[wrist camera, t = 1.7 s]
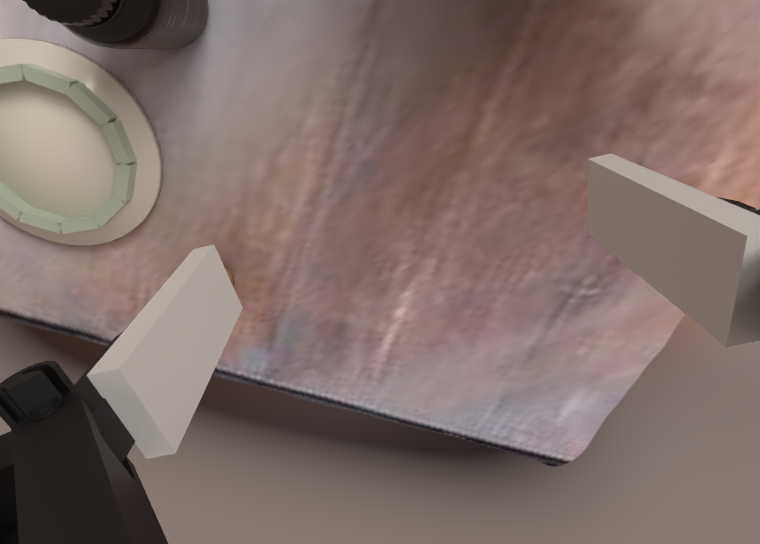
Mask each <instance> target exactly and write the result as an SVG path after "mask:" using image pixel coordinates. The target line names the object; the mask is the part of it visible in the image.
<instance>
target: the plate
mask: <svg viewBox="0 0 760 544" xmlns="http://www.w3.org/2000/svg"><path fill="white" fill-rule="evenodd" d="M162 178H163V163H162V156H161V150H160V146H159V143H158V140H157V137H156V134H155V132H154V129H153V127H152V125H151V123H150V121H149V119H148V117H147V116H146V114H145V112H144V110H143V109H142V107H141V106H140V105H139V103H138V102H137V100H136V99H135V98H134V96H133V95H132V94H131V93H130V92H129V91H128V90H127V89H126V87H125V86H124V85H123V84H122V83H121V82H120V81H119V80H117V79H116V78H115V77H114V76H113V75H112V74H111V73H110V72H108V71H107V70H106V69H104V68H103V67H101V66H100V65H99V64H97V63H96V62H94V61H92V60H91V59H89V58H87V57H86V56H84V55H82V54H80V53H78V52H76V51H73V50H71V49H69V48H67V47H63V46H60V45H57V44H54V43H50V42H45V41H40V40H29V39H3V40H0V216H1V217H2V218H4V219H5V220H6V221H8V222H9V223H11V224H13V225H15V226H16V227H18V228H20V229H22V230H24V231H26V232H28V233H30V234H32V235H35V236H37V237H40V238H43V239H46V240H49V241H53V242H57V243H61V244H69V245H86V246H87V245H97V244H102V243H106V242H110V241H113V240H115V239H118V238H120V237H122V236H124V235H126V234H127V233H129V232H130V231H132V230H133V229H134V228H136V227H137V226H138V225H139V224H141V223H142V222H143V221H144V220H145V219H146V217H147V216H148V215H149V214H150V213H151V211H152V209H153V208H154V206H155V204H156V202H157V200H158V197H159V195H160V190H161V186H162Z"/></svg>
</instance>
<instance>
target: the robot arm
mask: <svg viewBox="0 0 760 544" xmlns="http://www.w3.org/2000/svg"><path fill="white" fill-rule="evenodd" d="M588 234H589V235H590V236H591V237H593V238H594V239H595V240H596V241H597V242H599V243H600V244H601V245H602V246H604V247H605V248H606V249H607V250H608V251H610V252H611V253H612V254H613V255H615V256H616V257H617V258H618V259H619V260H621V261H622V262H623V263H624V264H626V265H627V266H628V267H629V268H630V269H632V270H633V271H634V272H635V273H637V274H638V275H639V276H640V277H641V278H643V279H644V280H645V281H646V282H648V283H649V284H650V285H651V286H652V287H654V288H655V289H656V290H657V291H659V292H660V293H661V294H662V295H663V296H665V297H666V298H667V299H668V300H670V301H671V302H672V303H673V304H674V305H676V306H677V307H678V308H679V309H681V310H682V311H683V312H684V313H685V314H687V315H688V316H689V317H690V318H692V319H693V320H694V321H695V322H696V323H698V324H699V325H700V326H701V327H703V328H704V329H705V330H706V331H707V332H709V333H710V334H711V335H712V336H714V337H715V338H716V339H717V340H718V341H720V342H721V343H722V344H723V345H725V346H726V347H727V346H732V345H737V344H743V343H748V342H753V341H759V340H760V210H756V208H754V207H751V206H749V205H746V204H744V203H741V202H739V201H734V200H729V199H724V198H718V197H714V196H712V195H710V194H707V193H705V192H702V191H700V190H698V189H695V188H693V187H690V186H688V185H686V184H683V183H681V182H678V181H676V180H674V179H671V178H669V177H666V176H664V175H662V174H659V173H657V172H655V171H652V170H650V169H647V168H645V167H643V166H640V165H638V164H635V163H633V162H631V161H628V160H626V159H623V158H621V157H619V156H616V155H614V154H606V155H602V156H598V157H593V158H589V159H588ZM242 309H243V308H242V306H241V303H240V301H239V299H238V297H237V295H236V292H235V290H234V288H233V286H232V283H231V281H230V279H229V277H228V274H227V272H226V270H225V268H224V266H223V263H222V261H221V259H220V257H219V254H218V252H217V250H216V248H215V245H209V246H205V247H200V248H196V249H193V250H192V252H191V253H190V254H189V255H188V256H187V257H186V259H185V260H184V261H183V262H182V263H181V265H180V266H179V267H178V268H177V269H176V270H175V272H174V273H173V274H172V275H171V276H170V278H169V279H168V280H167V281H166V282H165V283H164V285H163V286H162V287H161V288H160V289H159V291H158V292H157V293H156V294H155V295H154V296H153V298H152V299H151V300H150V301H149V302H148V303H147V305H146V306H145V307H144V308H143V309H142V311H141V312H140V313H139V314H138V315H137V316H136V318H135V319H134V320H133V321H132V322H131V324H130V325H129V326H128V327H127V328H126V329H125V330H124V331H123V332H122V333H120V334H119V335H118V336H117V337H115V338H114V340H113V341H112V342H111V343H110V344H109V345H108V347H107V348H106V349H105V351H104V352H102V353H101V355H100V356H99V357H98V358H97V361H96V362H94V363H93V364H92V365H91V366H90V367H89V369H88V370H87V371H86V372H85V373H84V375H83V376H82V377H81V378H80V379H79V380H78V382H77V383H76V384H75V385H73V383H72V382H71V381H70V380H69V378H68V377H67V376H66V374H65V373H64V371H63V370H62V369H61V368H60V366H59V365H58V363H56V362H55V361H44V362H41V363H37V364H34V365H32V366H29V367H27V368H25V369H23V370H21V371H19V372H17V373H15V374H14V375H12V376H10V377H9V378H7V379H6V380H4V381H3V382H2V383H0V416H1V418H3V420H4V421H5V422H6V423H7V424H8V425H9V427H10V428H11V432H8V433H6V434H3V435H1V436H0V544H168V542H167V540H166V537H165V535H164V533H163V531H162V528H161V526H160V524H159V522H158V520H157V517H156V515H155V513H154V510H153V508H152V506H151V503H150V501H149V499H148V497H147V494H146V492H145V490H144V488H143V485H142V483H141V481H140V479H139V477H138V474H137V472H136V470H135V467H134V465H133V464H132V463H131V461H130V460H129V459H128V457H127V455H128V453H129V451H130V449H131V448H132V446H133V444H134V442H135V444H136V445H137V446H138V448H139V449H140V451H141V452H142V453H143V455H144V456H145V458H146V459H149V458H154V457H159V456H164V455H169V454H175V453H176V451H177V449H178V446H179V444H180V442H181V440H182V438H183V436H184V434H185V431H186V429H187V427H188V425H189V423H190V421H191V419H192V416H193V414H194V412H195V409H196V408H197V406H198V404H199V401H200V399H201V397H202V395H203V393H204V391H205V388H206V386H207V384H208V382H209V380H210V378H211V376H212V373H213V371H214V369H215V367H216V365H217V363H218V360H219V358H220V356H221V354H222V352H223V350H224V348H225V345H226V343H227V341H228V339H229V337H230V335H231V332H232V330H233V328H234V326H235V324H236V322H237V320H238V317H239V315H240V313H241V311H242Z"/></svg>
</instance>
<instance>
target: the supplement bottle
mask: <svg viewBox="0 0 760 544" xmlns="http://www.w3.org/2000/svg"><path fill="white" fill-rule="evenodd" d="M23 1H25V2H26V3H27V4H28V6H29V7H30V8H32V9H34V10H36V11H37V12H38V13H39V14H40V15H42V16H46V17H47V18H48V19H49V20H51V21H57V22H59V23H61V24H62V25H63V26H64V27H66V28H67V29H68V30H69V31H71V32H72V33H73V34H75V35H76V36H78V37H80V38H81V39H83V40H85V41H87V42H90V43H92V44H95V45H98V46H102V47H108V48H117V49H175V48H180V47H183V46H185V45H187V44H189V43H191V42H192V41H193V40H195V39H196V38H197V36H198V35H199V34H200V33H201V31H202V29H203V27H204V25H205V22H206V19H207V14H208V0H23Z"/></svg>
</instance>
